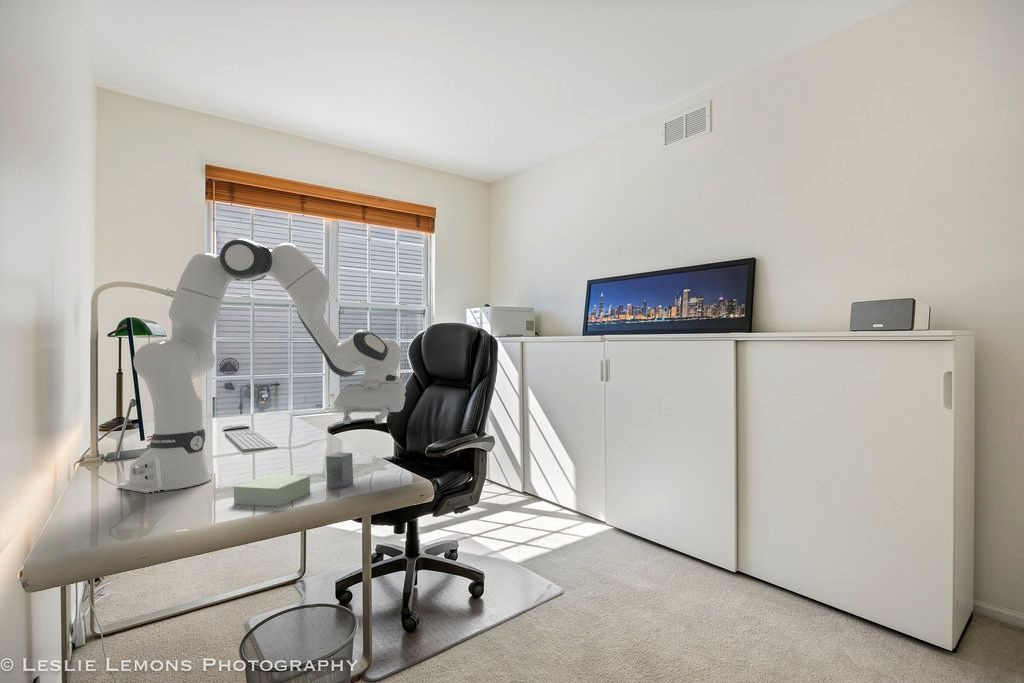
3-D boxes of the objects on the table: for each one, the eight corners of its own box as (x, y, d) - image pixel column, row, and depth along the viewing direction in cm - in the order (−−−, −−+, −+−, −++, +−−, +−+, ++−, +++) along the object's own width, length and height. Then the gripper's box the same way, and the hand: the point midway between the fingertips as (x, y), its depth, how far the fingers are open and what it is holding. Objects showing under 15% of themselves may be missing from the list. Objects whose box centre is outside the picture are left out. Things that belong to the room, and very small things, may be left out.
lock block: (327, 488, 126) (326, 456, 127) (337, 483, 131) (337, 452, 131) (342, 489, 125) (341, 456, 125) (353, 484, 130) (352, 453, 130)
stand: (234, 504, 115) (233, 486, 115) (269, 490, 126) (268, 474, 126) (278, 506, 112) (277, 488, 112) (310, 492, 123) (309, 476, 123)
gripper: (340, 378, 150) (322, 415, 140) (404, 376, 146) (391, 415, 136) (348, 391, 154) (331, 429, 144) (411, 390, 150) (399, 428, 141)
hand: (361, 422), depth 140 cm, fingers open, 8 cm apart
